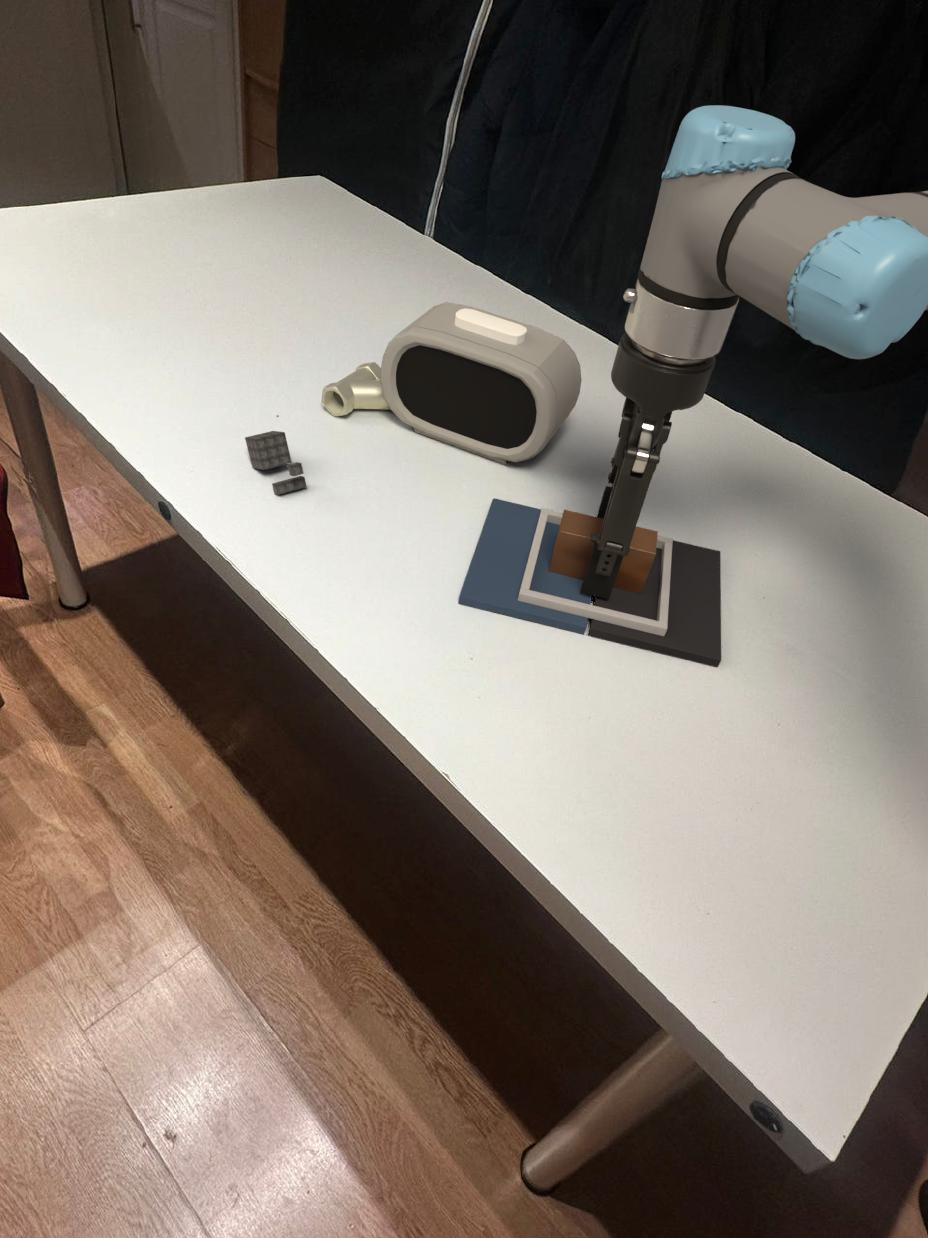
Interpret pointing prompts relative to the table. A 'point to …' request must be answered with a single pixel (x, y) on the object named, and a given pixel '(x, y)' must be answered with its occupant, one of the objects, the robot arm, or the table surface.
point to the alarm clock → (481, 381)
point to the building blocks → (275, 459)
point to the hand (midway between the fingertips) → (599, 567)
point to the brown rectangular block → (577, 549)
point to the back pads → (654, 620)
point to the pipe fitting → (356, 391)
